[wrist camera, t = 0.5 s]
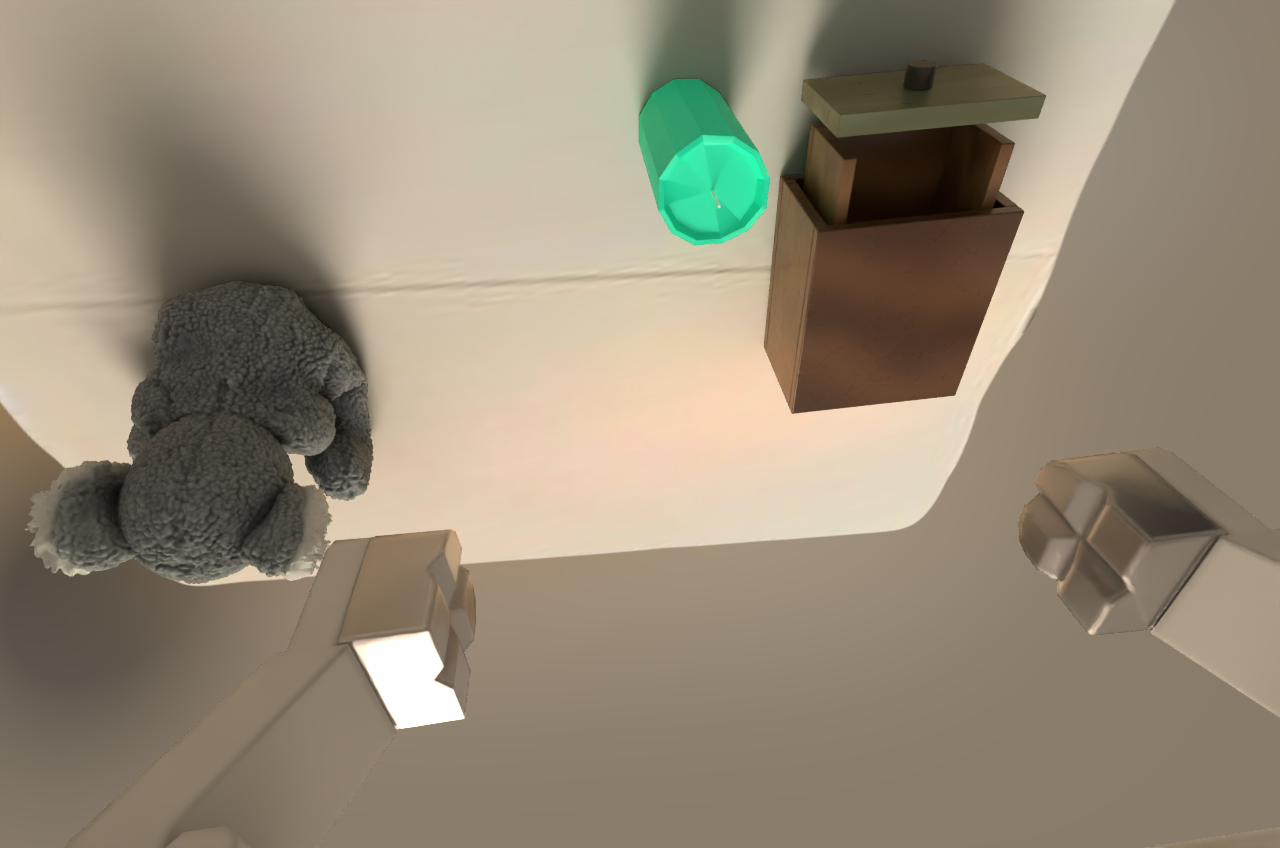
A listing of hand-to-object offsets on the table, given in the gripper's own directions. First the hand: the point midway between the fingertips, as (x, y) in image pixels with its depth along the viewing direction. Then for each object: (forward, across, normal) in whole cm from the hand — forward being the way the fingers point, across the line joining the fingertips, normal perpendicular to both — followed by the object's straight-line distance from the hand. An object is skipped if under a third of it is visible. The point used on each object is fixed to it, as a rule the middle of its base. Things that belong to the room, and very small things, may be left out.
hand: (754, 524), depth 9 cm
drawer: (+37, -18, +6) cm, 42 cm away
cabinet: (+38, -18, +13) cm, 45 cm away
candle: (+38, -5, +3) cm, 38 cm away
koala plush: (+40, +27, +18) cm, 52 cm away
